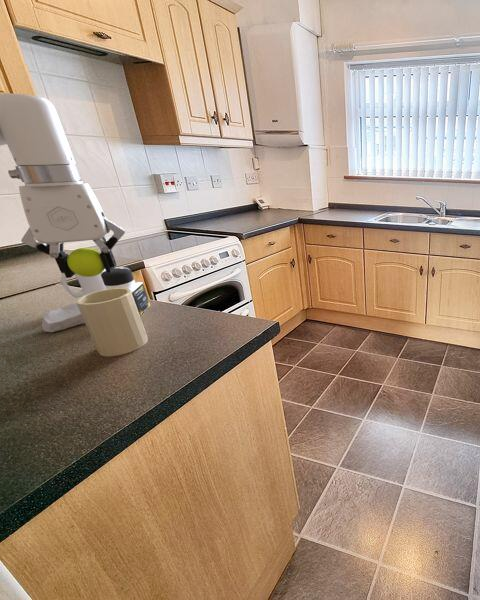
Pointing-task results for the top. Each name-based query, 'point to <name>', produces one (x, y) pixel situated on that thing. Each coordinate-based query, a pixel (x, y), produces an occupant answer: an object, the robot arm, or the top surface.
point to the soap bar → (62, 318)
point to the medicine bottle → (127, 286)
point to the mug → (85, 284)
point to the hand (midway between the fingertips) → (91, 272)
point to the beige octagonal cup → (113, 321)
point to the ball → (85, 262)
